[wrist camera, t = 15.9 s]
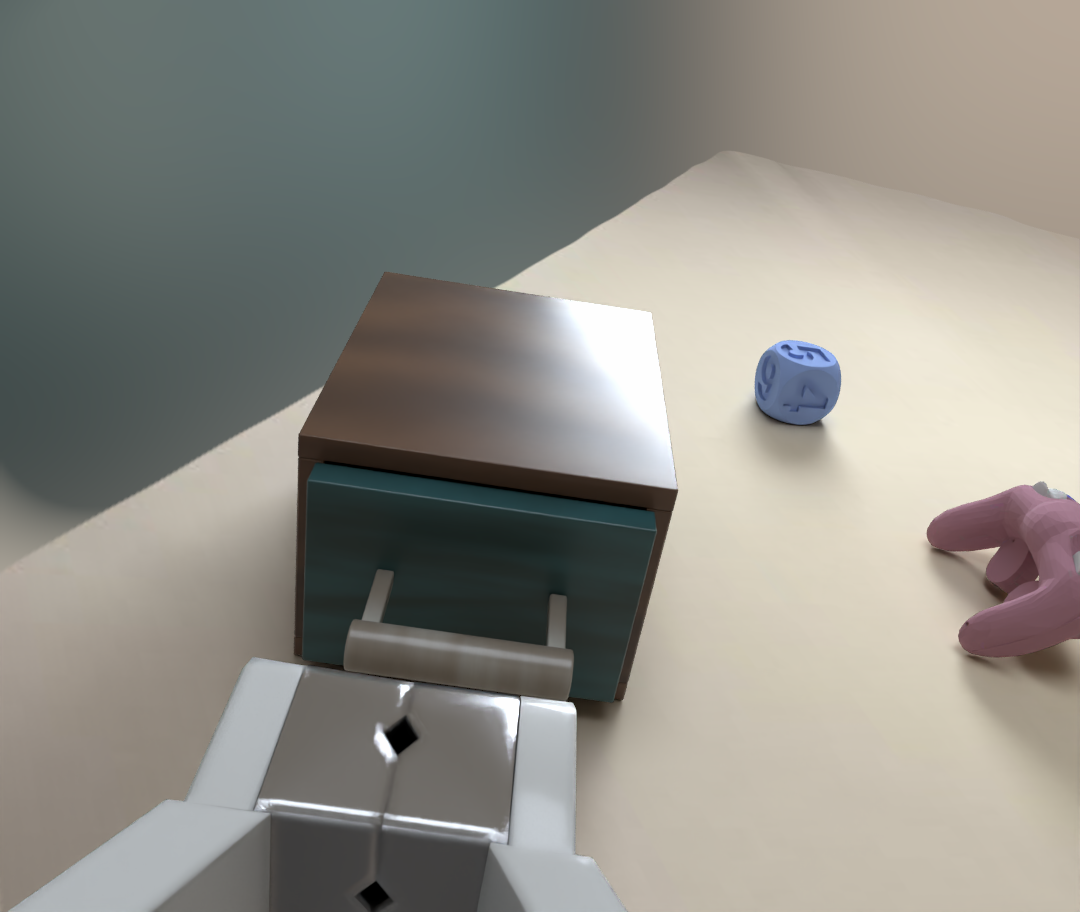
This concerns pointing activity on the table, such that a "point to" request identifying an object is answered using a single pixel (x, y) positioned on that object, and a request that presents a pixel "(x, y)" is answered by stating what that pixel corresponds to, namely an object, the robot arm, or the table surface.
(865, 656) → the table surface
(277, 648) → the table surface
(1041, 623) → the video game controller
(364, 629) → the drawer
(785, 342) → the decorative dice
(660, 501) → the cabinet
